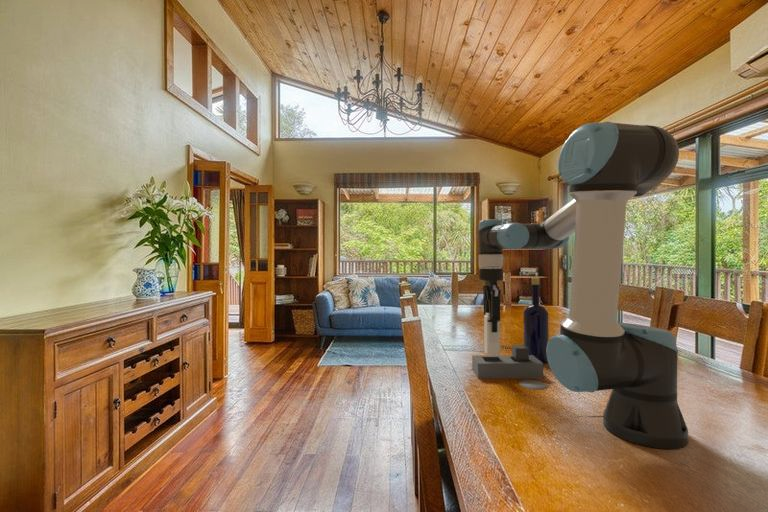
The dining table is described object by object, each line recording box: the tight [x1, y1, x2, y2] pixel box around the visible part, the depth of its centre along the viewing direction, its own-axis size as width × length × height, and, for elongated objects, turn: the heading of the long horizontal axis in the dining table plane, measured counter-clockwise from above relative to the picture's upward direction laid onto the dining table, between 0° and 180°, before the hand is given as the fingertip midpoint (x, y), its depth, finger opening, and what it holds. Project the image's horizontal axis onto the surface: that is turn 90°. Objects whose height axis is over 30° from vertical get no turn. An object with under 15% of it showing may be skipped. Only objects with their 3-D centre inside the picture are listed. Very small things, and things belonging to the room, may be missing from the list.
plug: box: [483, 313, 501, 355], centre depth 118 cm, size 4×4×13 cm
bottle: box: [523, 277, 550, 365], centre depth 132 cm, size 9×9×30 cm
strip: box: [471, 344, 544, 379], centre depth 118 cm, size 10×20×9 cm, turn 88°
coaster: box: [518, 379, 549, 391], centre depth 108 cm, size 8×8×1 cm
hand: (491, 340), depth 118 cm, fingers closed on plug, 4 cm apart
